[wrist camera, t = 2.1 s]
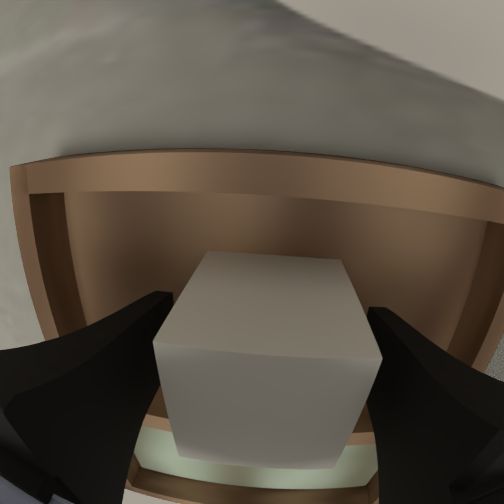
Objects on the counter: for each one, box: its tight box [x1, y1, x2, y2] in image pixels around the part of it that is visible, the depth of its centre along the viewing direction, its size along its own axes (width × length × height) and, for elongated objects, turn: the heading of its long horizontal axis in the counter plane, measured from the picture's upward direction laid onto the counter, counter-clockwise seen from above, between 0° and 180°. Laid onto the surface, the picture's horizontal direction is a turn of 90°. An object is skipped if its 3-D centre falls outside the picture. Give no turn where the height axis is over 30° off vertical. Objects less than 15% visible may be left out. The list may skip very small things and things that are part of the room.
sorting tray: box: [10, 148, 504, 504], centre depth 12 cm, size 18×21×3 cm
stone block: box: [153, 250, 383, 469], centre depth 8 cm, size 4×4×5 cm
